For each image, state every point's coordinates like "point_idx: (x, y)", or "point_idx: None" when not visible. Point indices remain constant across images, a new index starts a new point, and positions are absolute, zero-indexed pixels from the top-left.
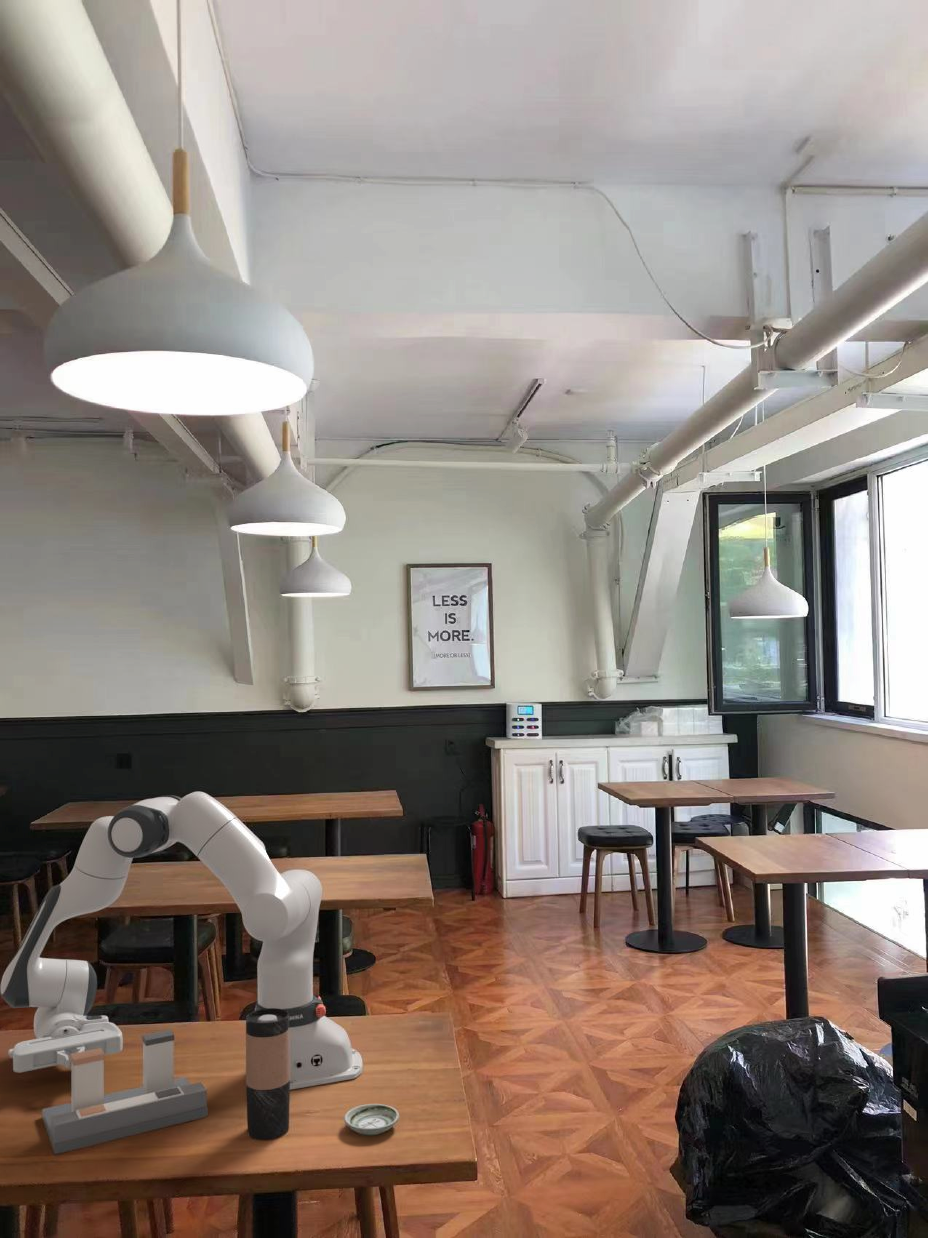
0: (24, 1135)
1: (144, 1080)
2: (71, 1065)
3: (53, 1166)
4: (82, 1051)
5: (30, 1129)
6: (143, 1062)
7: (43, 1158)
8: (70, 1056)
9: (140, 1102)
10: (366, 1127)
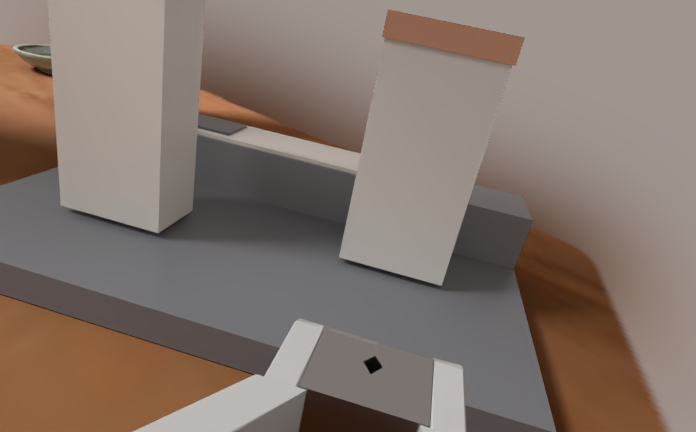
0: (600, 382)
1: (176, 162)
2: (504, 89)
3: None
4: (214, 397)
5: (584, 405)
6: (169, 96)
7: (524, 262)
8: (406, 372)
9: (292, 139)
10: None
